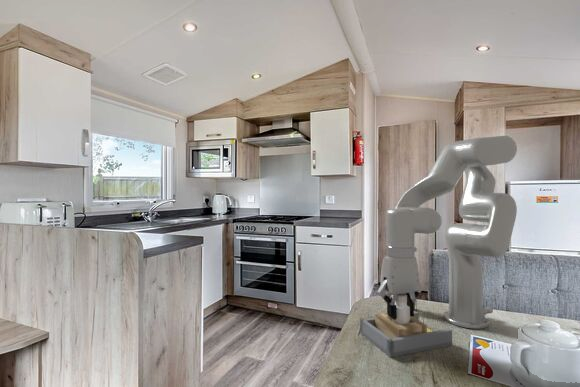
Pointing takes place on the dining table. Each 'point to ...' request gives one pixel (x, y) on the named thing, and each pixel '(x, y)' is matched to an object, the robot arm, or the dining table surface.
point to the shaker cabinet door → (398, 326)
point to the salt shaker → (402, 310)
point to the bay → (405, 339)
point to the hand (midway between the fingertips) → (400, 315)
